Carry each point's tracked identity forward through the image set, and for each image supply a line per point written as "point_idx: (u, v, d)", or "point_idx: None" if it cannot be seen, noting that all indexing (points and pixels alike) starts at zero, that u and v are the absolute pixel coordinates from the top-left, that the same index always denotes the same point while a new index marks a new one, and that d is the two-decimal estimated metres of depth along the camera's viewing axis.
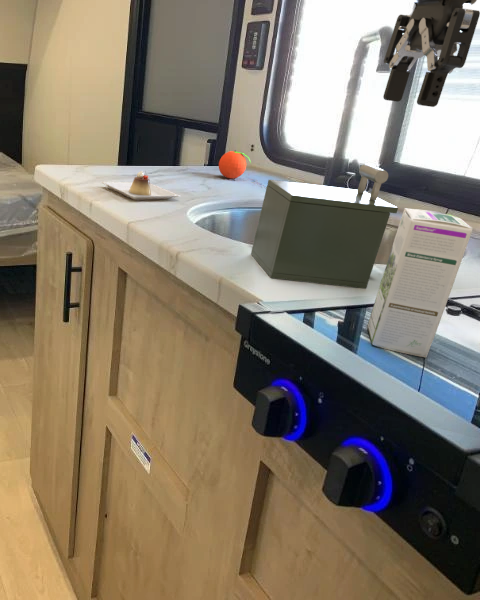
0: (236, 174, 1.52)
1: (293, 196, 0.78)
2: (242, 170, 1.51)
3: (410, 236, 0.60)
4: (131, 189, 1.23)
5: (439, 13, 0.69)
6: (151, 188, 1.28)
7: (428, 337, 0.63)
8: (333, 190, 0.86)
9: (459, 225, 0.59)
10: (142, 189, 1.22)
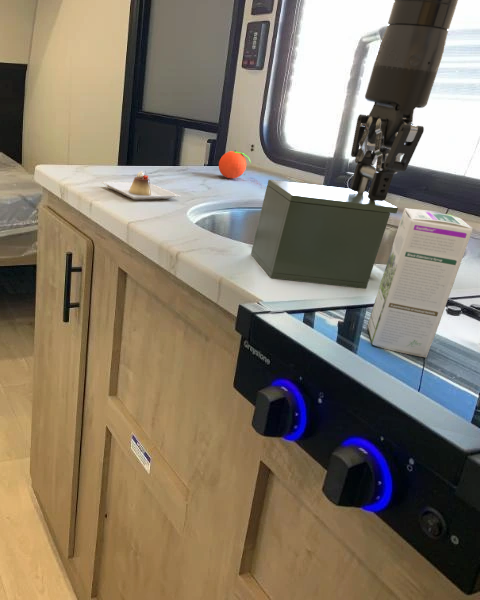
0: (236, 174, 1.52)
1: (293, 196, 0.78)
2: (242, 170, 1.51)
3: (410, 236, 0.60)
4: (131, 189, 1.23)
5: (393, 117, 0.77)
6: (151, 188, 1.28)
7: (428, 337, 0.63)
8: (333, 190, 0.86)
9: (459, 225, 0.59)
10: (142, 189, 1.22)
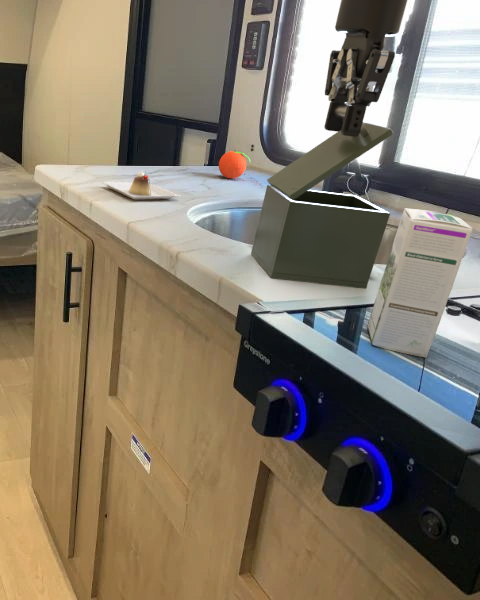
0: (236, 174, 1.52)
1: (291, 195, 0.78)
2: (242, 170, 1.51)
3: (410, 236, 0.60)
4: (131, 189, 1.23)
5: (363, 45, 0.74)
6: (151, 188, 1.28)
7: (428, 337, 0.63)
8: (326, 147, 0.83)
9: (459, 225, 0.59)
10: (142, 189, 1.22)
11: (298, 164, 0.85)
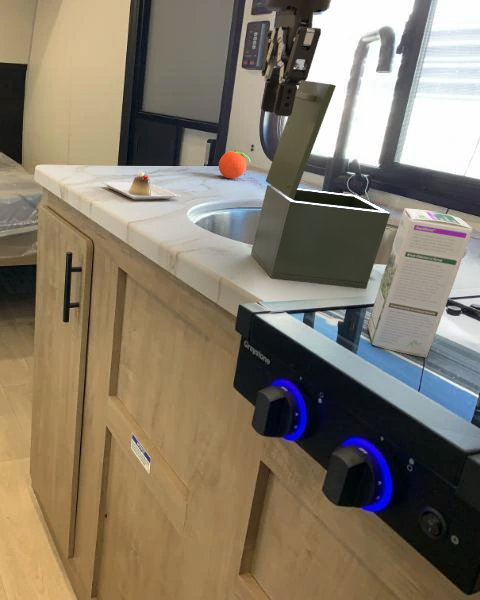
0: (236, 174, 1.52)
1: (289, 196, 0.78)
2: (242, 170, 1.51)
3: (410, 236, 0.60)
4: (131, 189, 1.23)
5: (292, 22, 0.73)
6: (151, 188, 1.28)
7: (428, 337, 0.63)
8: (293, 124, 0.82)
9: (459, 225, 0.59)
10: (142, 189, 1.22)
11: (280, 154, 0.84)
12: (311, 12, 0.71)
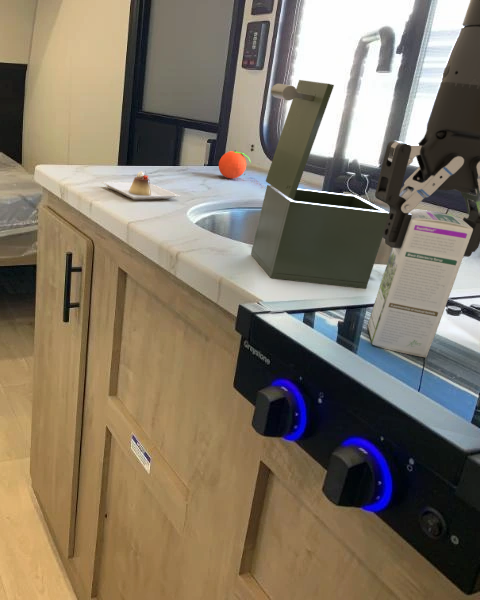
0: (236, 174, 1.52)
1: (289, 196, 0.78)
2: (242, 170, 1.51)
3: (410, 236, 0.60)
4: (131, 189, 1.23)
5: None
6: (151, 188, 1.28)
7: (428, 337, 0.63)
8: (292, 124, 0.82)
9: (459, 225, 0.59)
10: (142, 189, 1.22)
11: (280, 153, 0.84)
12: (434, 133, 0.57)
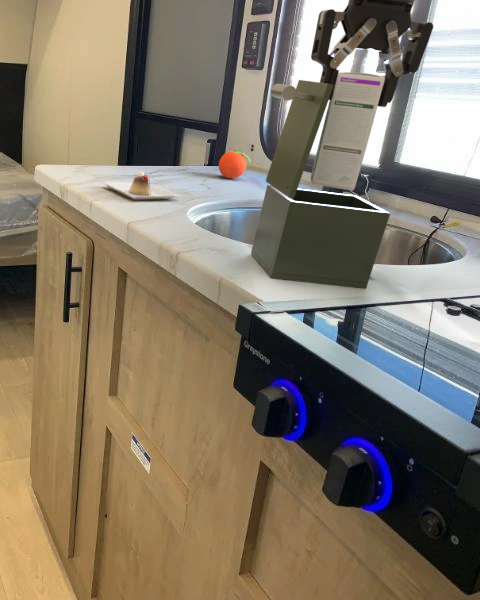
0: (236, 174, 1.52)
1: (289, 196, 0.78)
2: (242, 170, 1.51)
3: (338, 87, 0.76)
4: (131, 189, 1.23)
5: None
6: (151, 188, 1.28)
7: (354, 172, 0.79)
8: (291, 124, 0.82)
9: (374, 75, 0.75)
10: (142, 189, 1.22)
11: (280, 153, 0.84)
12: (353, 1, 0.74)
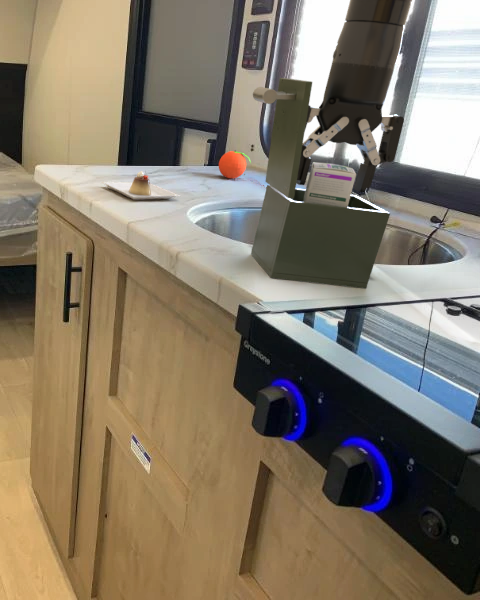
0: (236, 174, 1.52)
1: (289, 196, 0.78)
2: (242, 170, 1.51)
3: (312, 181, 0.81)
4: (131, 189, 1.23)
5: None
6: (151, 188, 1.28)
7: None
8: (280, 123, 0.82)
9: (346, 171, 0.79)
10: (142, 189, 1.22)
11: (274, 153, 0.84)
12: (327, 100, 0.78)
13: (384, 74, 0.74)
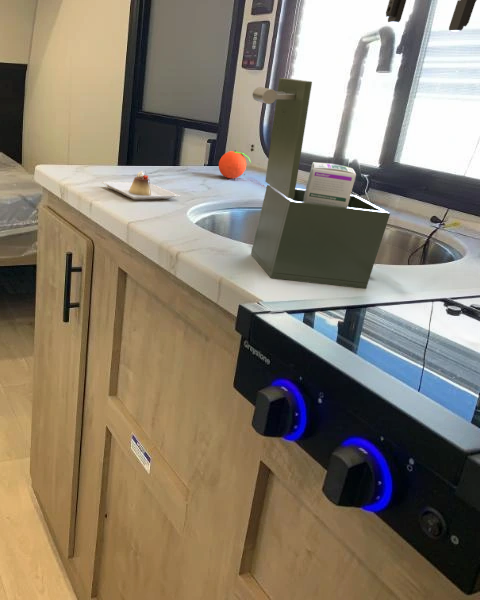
0: (236, 174, 1.52)
1: (289, 196, 0.78)
2: (242, 170, 1.51)
3: (312, 181, 0.81)
4: (131, 189, 1.23)
5: None
6: (151, 188, 1.28)
7: None
8: (280, 123, 0.82)
9: (346, 171, 0.79)
10: (142, 189, 1.22)
11: (274, 153, 0.84)
12: None
13: None
